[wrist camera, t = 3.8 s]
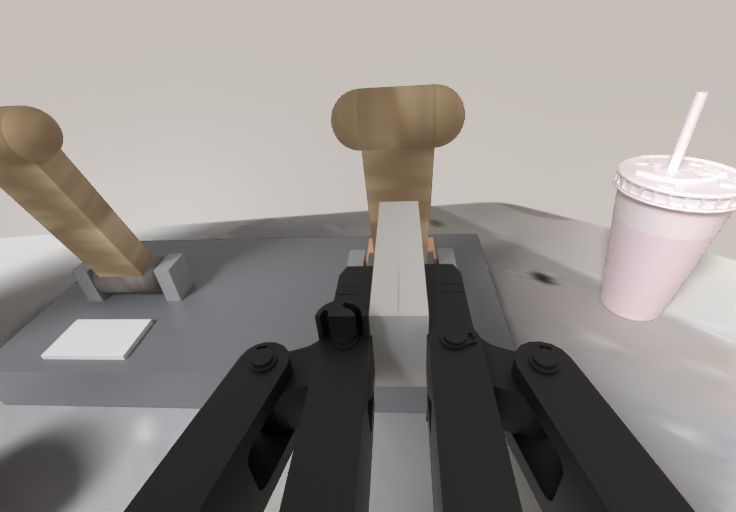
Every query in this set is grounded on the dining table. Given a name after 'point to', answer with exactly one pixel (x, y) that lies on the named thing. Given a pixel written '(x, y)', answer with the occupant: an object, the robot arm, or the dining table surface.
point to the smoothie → (663, 223)
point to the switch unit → (209, 321)
